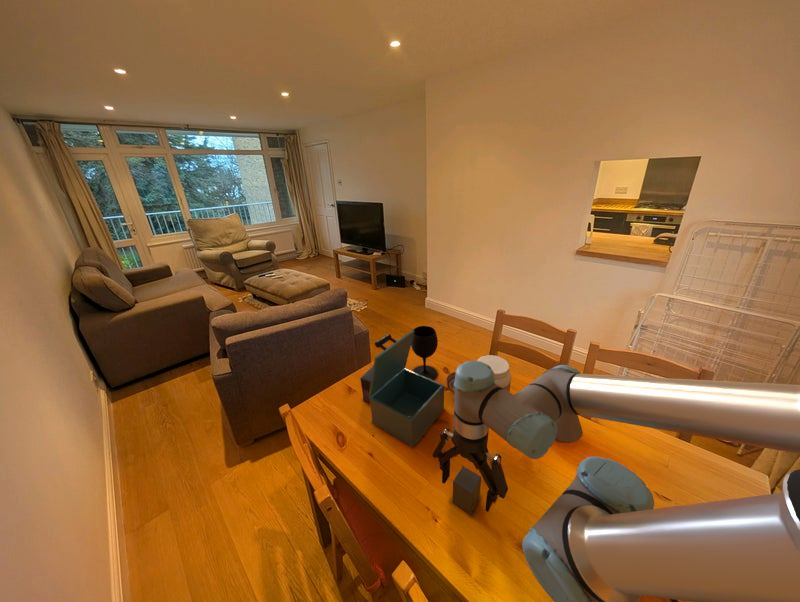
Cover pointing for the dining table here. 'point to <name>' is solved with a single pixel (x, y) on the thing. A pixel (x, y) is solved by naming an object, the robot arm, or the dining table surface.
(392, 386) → the teal open box
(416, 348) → the wine glass
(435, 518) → the dining table surface
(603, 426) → the dining table surface
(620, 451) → the dining table surface
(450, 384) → the tin
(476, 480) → the block
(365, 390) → the small box
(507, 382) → the supplement tub
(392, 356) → the lid
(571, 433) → the coffee pot
